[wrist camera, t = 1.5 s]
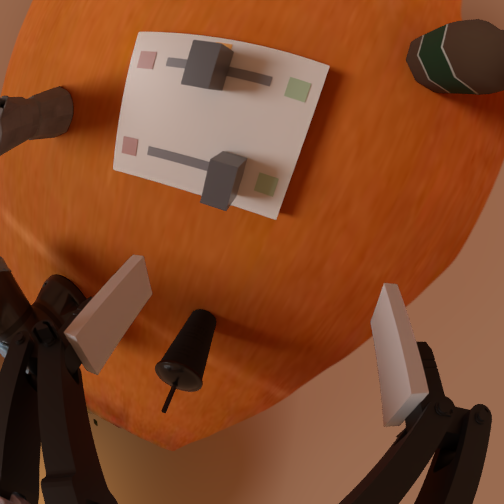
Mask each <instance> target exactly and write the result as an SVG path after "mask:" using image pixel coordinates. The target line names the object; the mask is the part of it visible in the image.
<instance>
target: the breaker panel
mask: <svg viewBox="0 0 504 504" xmlns="http://www.w3.org/2000/svg"><path fill="white" fill-rule="evenodd" d="M193 40H201V41H208V42H215V43H222V44H223V45H225V46H226V47H228V48H229V49H231V50H232V51H234V54H233V57H232V60H231V63H230V66H229V70H228V73H227V76H226V80H225V83H224V87H223V90H222V91H219V90H210V89H204V88H199V87H194V86H188V85H182V84H181V81H182V77H183V74H184V70H185V66H186V63H187V59H188V56H189V52H190V49H191V46H192V43H193ZM329 67H330V66H328V65H325V64H323V63H320V62H317V61H314V60H311V59H308V58H304V57H301V56H298V55H294V54H291V53H287V52H284V51H280V50H276V49H272V48H268V47H264V46H260V45H255V44H251V43H246V42H241V41H235V40H229V39H223V38H217V37H210V36H201V35H192V34H181V33H166V32H139V33H138V36H137V40H136V43H135V47H134V51H133V54H132V58H131V62H130V66H129V71H128V75H127V79H126V84H125V89H124V94H123V99H122V105H121V110H120V116H119V123H118V130H117V137H116V145H115V154H114V164H113V170H117V171H120V172H124V173H127V174H131V175H135V176H138V177H142V178H145V179H149V180H152V181H155V182H159V183H162V184H166V185H169V186H172V187H176V188H179V189H182V190H185V191H189V192H192V193H195V194H198V195H202V192H203V188H204V183H205V179H206V174H207V170H208V166H209V162H210V159H211V158H213V157H214V156H216V155H218V154H219V153H221V152H222V151H225V152H229V153H232V154H236V155H239V156H242V157H246V158H247V162H246V165H245V169H244V172H243V176H242V179H241V183H240V186H239V190H238V193H237V196H236V198H235V199H234V201H233V202H232V203H231V205H233V206H236V207H239V208H242V209H245V210H248V211H251V212H254V213H257V214H260V215H263V216H266V217H269V218H272V219H275V220H276V218H277V216H278V213H279V210H280V207H281V205H282V202H283V199H284V196H285V193H286V191H287V188H288V185H289V182H290V179H291V177H292V174H293V171H294V168H295V165H296V162H297V160H298V157H299V154H300V151H301V148H302V145H303V143H304V140H305V137H306V134H307V131H308V128H309V125H310V122H311V120H312V117H313V114H314V111H315V108H316V105H317V102H318V99H319V96H320V94H321V91H322V88H323V85H324V82H325V79H326V76H327V73H328V70H329Z"/></svg>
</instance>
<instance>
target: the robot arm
mask: <svg viewBox="0 0 504 504" xmlns="http://www.w3.org/2000/svg"><path fill="white" fill-rule="evenodd" d="M151 295H152V290H151V286H150V282H149V278H148V273H147V269H146V264H145V260H144V256H139V255H132V256H131V257H130V258H129V259H128V260H127V261H126V262H125V263H124V264H123V266H122V267H121V268H120V269H119V270H118V271H117V272H116V273H115V274H114V275H113V276H112V277H111V278H110V279H109V280H108V282H107V283H106V284H105V285H104V286H103V287H102V288H101V289H100V290H99V292H98V293H97V294H96V295H95V296H94V297H90V298H88V299H85V297H84V296H83V294H82V293H81V292H80V290H79V289H78V288H77V287H76V286H75V285H74V284H73V283H72V282H70V281H69V280H68V279H66V278H64V277H62V276H60V275H52V276H50V277H49V278H48V279H47V280H46V281H45V282H44V284H43V287H42V288H41V290H40V292H39V295H38V297H37V299H36V301H35V302H34V303H33V304H32V305H30V303H29V301H28V300H27V298H26V297H25V295H24V294H23V292H22V290H21V289H20V287H19V285H18V284H17V282H16V280H15V278H14V277H13V275H12V273H11V270H10V269H9V268H8V266H7V264H6V263H5V261H4V259H3V258H2V257H1V256H0V353H1V355H2V356H3V357H4V358H5V359H4V362H3V365H2V369H1V372H0V504H38V500H39V464H40V446H41V445H42V452H43V458H44V464H45V469H46V477H45V478H43V479H42V481H41V488H42V493H43V497H44V501H45V504H118V503H117V501H116V499H115V498H114V497H113V495H112V494H111V493H110V491H109V490H108V487H107V485H106V482H105V479H104V476H103V472H102V469H101V466H100V463H99V459H98V456H97V452H96V448H95V444H94V440H93V436H92V432H91V427H90V423H89V418H88V413H87V407H86V402H85V396H84V389H83V382H82V375H81V370H80V368H79V367H80V365H81V364H83V366H84V367H85V369H86V370H87V371H89V372H91V373H94V374H96V375H98V374H99V372H100V371H101V369H102V368H103V366H104V364H105V363H106V361H107V360H108V358H109V357H110V355H111V354H112V352H113V351H114V349H115V348H116V346H117V345H118V343H119V342H120V340H121V339H122V337H123V336H124V334H125V333H126V331H127V330H128V328H129V327H130V325H131V324H132V322H133V321H134V319H135V318H136V317H137V315H138V314H139V312H140V311H141V309H142V308H143V307H144V305H145V304H146V302H147V301H148V299H149V298H150V297H151ZM371 328H372V334H373V339H374V346H375V351H376V359H377V366H378V374H379V382H380V391H381V400H382V410H383V423H384V427H385V426H386V427H387V426H399V425H401V423H403V421H404V420H405V422H406V428H405V429H404V430H403V431H402V432H401V433H400V434H399V435H397V437H398V438H397V439H396V441H395V442H394V443H393V444H392V446H391V447H390V448H389V450H388V451H387V452H386V453H385V455H384V456H383V457H382V458H381V460H380V461H379V462H378V463H377V464H376V465H375V467H374V468H373V469H372V470H371V471H370V472H369V473H368V474H367V476H366V477H365V478H364V479H363V480H362V481H361V482H360V483H359V484H358V485H357V486H356V487H355V488H354V489H353V490H352V491H351V492H350V493H349V494H348V495H347V496H346V497H345V498H344V499H343V500H342V501H341V502H340V503H339V504H399V502H400V501H401V500H402V499H403V497H404V496H405V495H406V493H407V492H408V491H409V489H410V488H411V487H412V485H413V484H414V483H415V481H416V480H417V478H418V477H419V476H420V474H421V472H422V471H423V470H424V468H425V467H426V465H427V464H428V462H429V460H430V459H431V457H432V456H433V454H434V452H435V454H434V456H433V459H432V462H431V465H430V468H429V470H428V473H427V475H426V478H425V480H424V483H423V486H422V488H421V490H420V492H419V495H418V497H417V499H416V501H415V503H414V504H472V503H473V500H474V497H475V494H476V491H477V488H478V485H479V481H480V477H481V473H482V470H483V466H484V461H485V457H486V452H487V447H488V442H489V436H490V430H491V422H492V415H491V412H490V410H489V409H488V408H487V407H486V406H485V405H483V404H477V405H475V406H474V407H473V408H472V409H471V410H468V409H463V408H458V407H455V406H454V404H453V402H452V401H451V400H450V399H449V398H448V397H446V396H445V395H444V391H443V387H442V383H441V380H440V376H439V372H438V369H437V365H436V362H435V361H434V360H435V358H434V355H433V352H432V350H431V348H430V347H429V346H428V344H427V343H426V342H416V340H415V337H414V333H413V330H412V326H411V323H410V320H409V317H408V314H407V311H406V308H405V305H404V302H403V299H402V296H401V294H400V291H399V288H398V285H397V284H389V283H384V285H383V288H382V291H381V294H380V297H379V300H378V302H377V305H376V308H375V311H374V314H373V316H372V319H371Z"/></svg>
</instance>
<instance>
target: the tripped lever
mask: <svg viewBox="0 0 504 504" xmlns="http://www.w3.org/2000/svg"><path fill="white" fill-rule="evenodd" d="M233 54H234V51H232V50H231V49H229V48H228V47H226V46H225V45H223V44H222V43H215V42H208V41H201V40H193V43H192V46H191V49H190V52H189V56H188V59H187V63H186V66H185V70H184V74H183V77H182V81H181V84H182V85H188V86H194V87H199V88H204V89H210V90H219V91H222V90H223V87H224V83H225V80H226V76H227V73H228V70H229V66H230V63H231V60H232V57H233Z"/></svg>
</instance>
